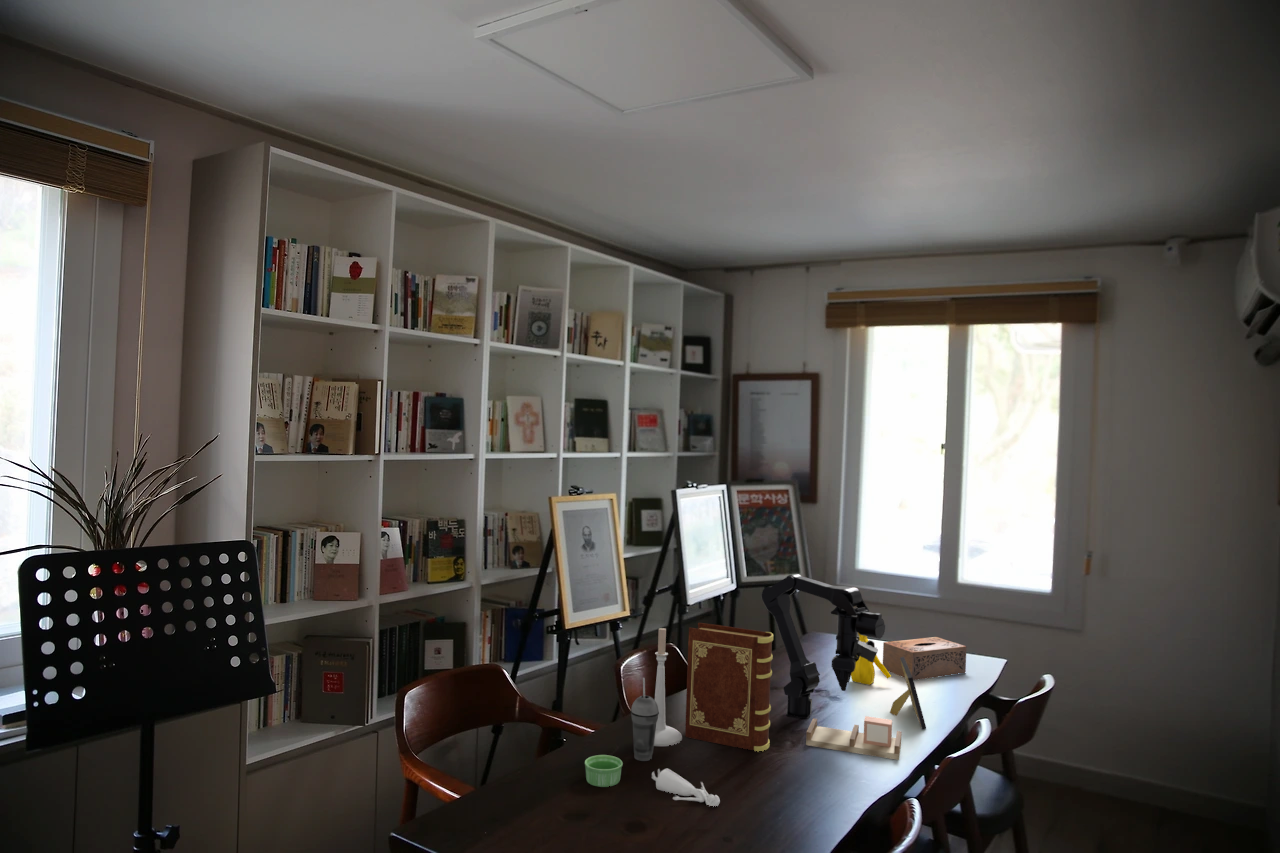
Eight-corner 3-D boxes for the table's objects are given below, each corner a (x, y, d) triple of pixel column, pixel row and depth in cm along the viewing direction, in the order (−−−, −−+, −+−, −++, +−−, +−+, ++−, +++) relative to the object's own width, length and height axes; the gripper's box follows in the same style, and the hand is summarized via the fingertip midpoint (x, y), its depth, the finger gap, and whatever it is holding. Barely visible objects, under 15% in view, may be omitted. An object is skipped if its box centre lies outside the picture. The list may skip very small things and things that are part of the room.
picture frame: (926, 729, 241) (921, 677, 242) (894, 729, 243) (889, 678, 244) (916, 704, 264) (912, 656, 265) (887, 705, 266) (883, 657, 266)
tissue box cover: (911, 681, 291) (912, 652, 291) (882, 669, 304) (883, 642, 304) (965, 674, 302) (966, 646, 302) (935, 663, 315) (936, 636, 315)
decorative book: (772, 743, 226) (776, 632, 226) (764, 753, 219) (768, 638, 219) (695, 728, 236) (698, 621, 236) (684, 737, 229) (688, 627, 229)
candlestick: (666, 750, 219) (671, 635, 219) (625, 739, 226) (629, 627, 226) (690, 735, 230) (694, 626, 230) (650, 725, 237) (654, 619, 237)
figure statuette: (892, 685, 284) (895, 620, 285) (885, 690, 278) (888, 624, 278) (842, 675, 294) (844, 612, 294) (834, 680, 288) (836, 616, 288)
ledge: (806, 745, 226) (806, 732, 226) (812, 730, 238) (813, 718, 238) (898, 760, 218) (899, 746, 218) (901, 744, 229) (901, 731, 229)
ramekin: (585, 772, 204) (586, 753, 204) (622, 773, 203) (623, 755, 203) (582, 787, 195) (582, 768, 195) (620, 789, 194) (621, 770, 194)
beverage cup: (637, 764, 209) (639, 684, 209) (624, 754, 215) (626, 676, 215) (662, 760, 212) (665, 681, 212) (649, 750, 218) (651, 673, 219)
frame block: (863, 743, 225) (864, 720, 225) (864, 738, 229) (865, 716, 229) (890, 747, 223) (891, 724, 223) (891, 742, 226) (892, 719, 227)
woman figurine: (670, 758, 203) (733, 785, 191) (668, 776, 203) (731, 804, 192) (640, 772, 193) (705, 801, 182) (638, 791, 194) (703, 821, 182)
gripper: (873, 642, 229) (871, 699, 229) (878, 628, 247) (877, 681, 246) (832, 637, 233) (830, 694, 233) (840, 624, 250) (838, 676, 250)
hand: (845, 686), depth 240 cm, fingers open, 9 cm apart
